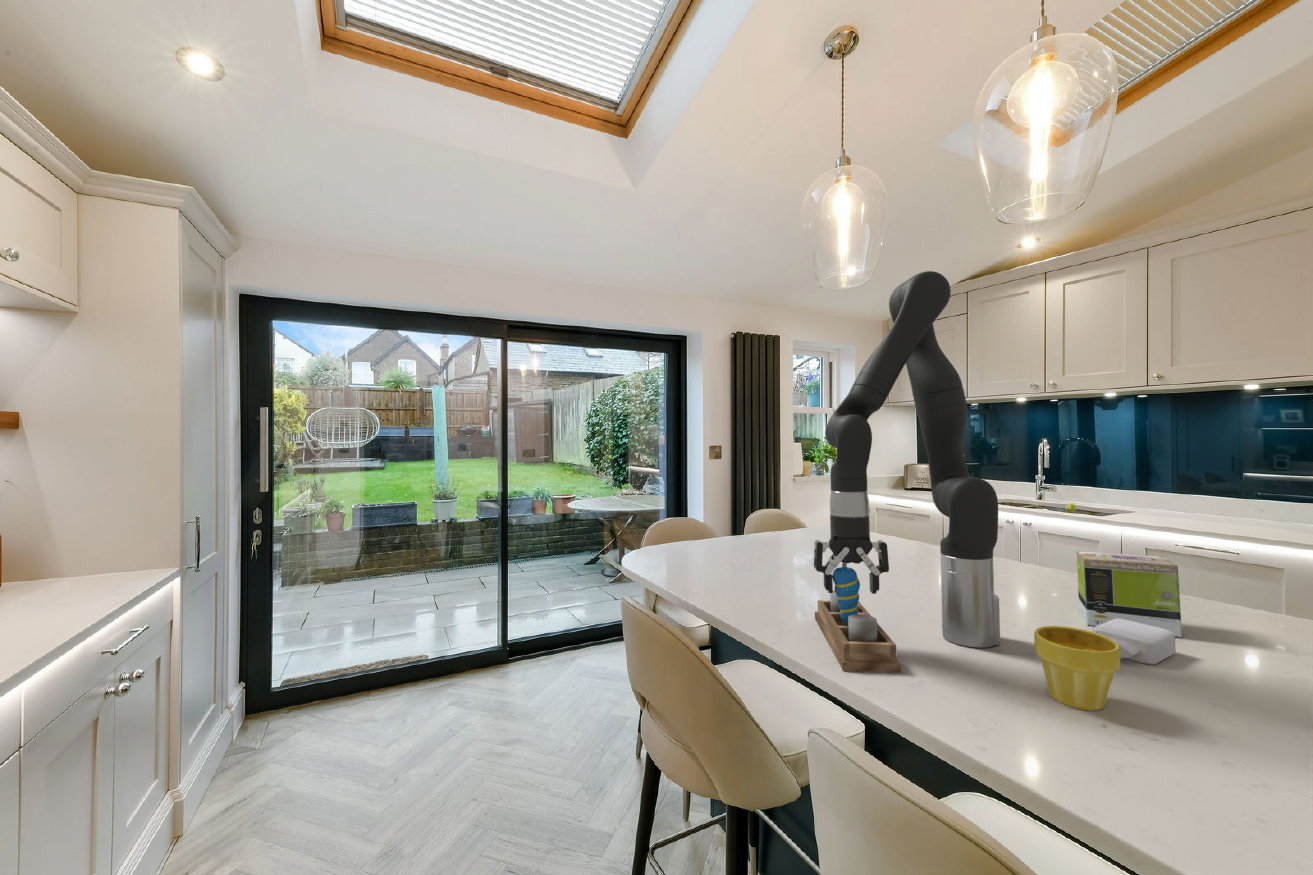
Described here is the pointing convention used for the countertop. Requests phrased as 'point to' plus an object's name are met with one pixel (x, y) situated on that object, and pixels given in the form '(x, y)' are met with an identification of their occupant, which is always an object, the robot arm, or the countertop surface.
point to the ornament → (846, 591)
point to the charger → (1139, 640)
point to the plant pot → (1077, 665)
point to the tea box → (1129, 589)
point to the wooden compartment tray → (857, 639)
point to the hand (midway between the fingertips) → (851, 592)
